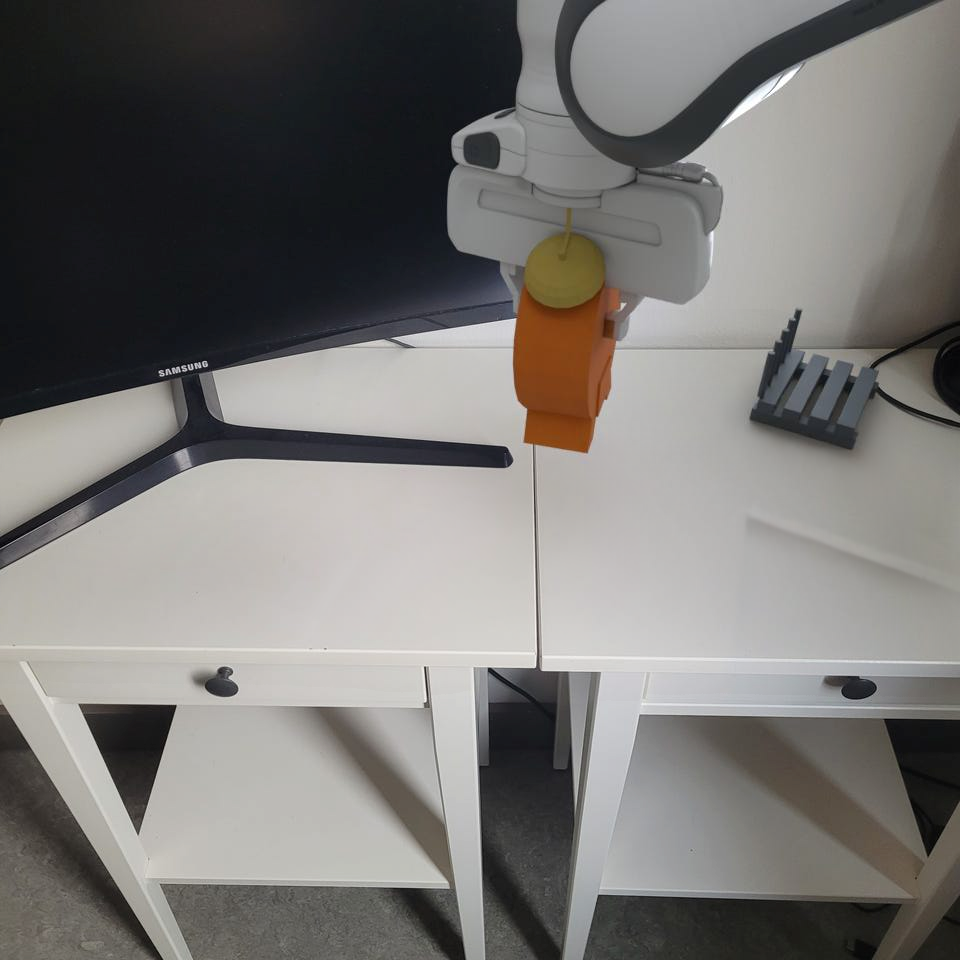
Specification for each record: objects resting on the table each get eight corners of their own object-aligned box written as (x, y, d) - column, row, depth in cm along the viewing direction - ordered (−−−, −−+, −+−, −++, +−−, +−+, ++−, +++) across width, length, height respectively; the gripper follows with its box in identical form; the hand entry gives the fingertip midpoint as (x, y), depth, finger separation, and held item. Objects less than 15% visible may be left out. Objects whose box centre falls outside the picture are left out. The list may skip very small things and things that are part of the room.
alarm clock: (551, 369, 75) (557, 146, 63) (617, 378, 74) (637, 151, 61) (510, 453, 66) (508, 209, 53) (585, 466, 64) (602, 218, 52)
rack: (876, 391, 103) (899, 328, 97) (851, 450, 94) (875, 385, 88) (780, 366, 108) (797, 304, 102) (748, 419, 98) (764, 355, 93)
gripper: (744, 154, 53) (709, 339, 62) (477, 111, 62) (480, 280, 71) (712, 184, 49) (680, 378, 58) (431, 134, 58) (440, 310, 66)
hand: (568, 324), depth 64 cm, fingers closed on alarm clock, 6 cm apart
